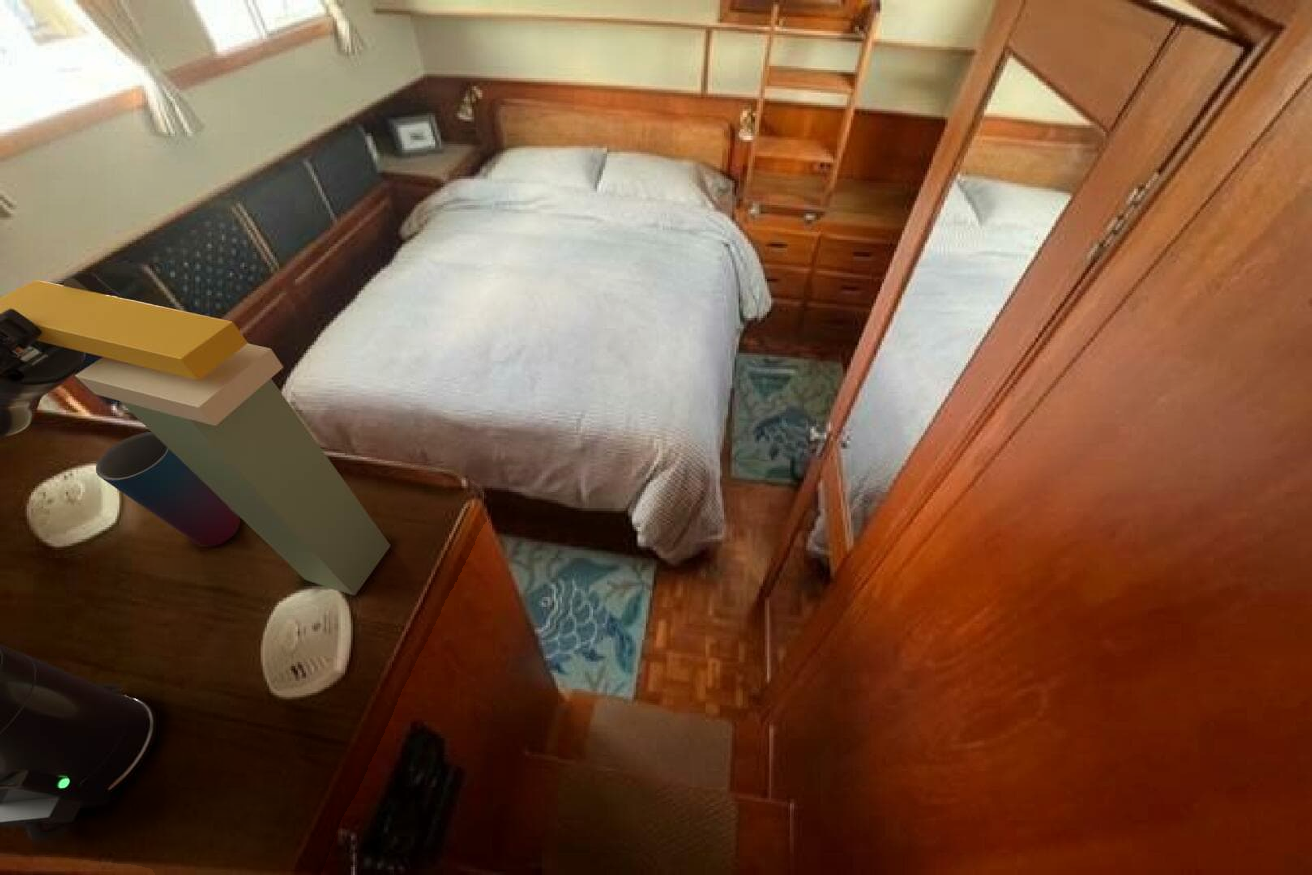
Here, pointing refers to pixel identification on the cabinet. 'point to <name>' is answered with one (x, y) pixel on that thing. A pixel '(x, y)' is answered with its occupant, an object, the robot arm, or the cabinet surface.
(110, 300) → the yellow bar
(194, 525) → the cup
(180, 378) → the stand
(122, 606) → the cabinet surface
